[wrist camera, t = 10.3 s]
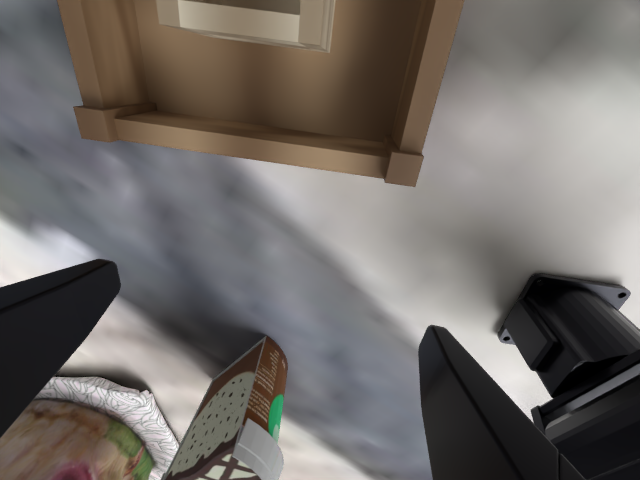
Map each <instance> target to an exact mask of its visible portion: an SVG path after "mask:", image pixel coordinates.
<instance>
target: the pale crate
mask: <svg viewBox="0 0 640 480" xmlns="http://www.w3.org/2000/svg"><path fill="white" fill-rule="evenodd" d="M156 2H157V11H158V19H159V24H160V25H164V26H168V27H172V28H176V29H180V30H184V31H189V32H193V33H197V34H201V35H205V36H209V37H213V38H219V39H227V40H234V41H242V42H250V43H257V44H265V45H272V46H280V47H288V48H295V49H303V50H311V51H318V52H326V53H330V47H331V38H332V29H333V20H334V11H335V2H336V0H156Z"/></svg>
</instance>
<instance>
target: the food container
mask: <svg viewBox="0 0 640 480" xmlns="http://www.w3.org/2000/svg"><path fill="white" fill-rule="evenodd" d="M287 370H288V363H287V359H286V356H285V354H284V353H283V351H282V350H281V348H280V347H279V346H278V345H277V344H276V343H275V342H274V341H273V340H272V339H271V338H269V337H268V336H267V335H266V336H265V337H264V338H263V339H262V340H260V341H259V342H258V343H257V344H255V345H254V346H253V347H252V348H250V349H249V350H248V351H247V352H246V353H244V354H243V355H242V356H241V357H239V358H238V359H237V360H236V361H235V362H233V363H232V364H231V365H230V366H228V367H227V368H226V369H225V370H224V371H222V372H221V373H220V374H219V375H217V376H216V377H215V378H214V379H213V380H212V382H211V384H210V386H209V388H208V390H207V392H206V394H205V396H204V398H203V400H202V402H201V404H200V406H199V408H198V410H197V412H196V414H195V416H194V418H193V420H192V422H191V424H190V426H189V428H188V430H187V432H186V434H185V436H184V438H183V440H182V442H181V444H180V446H179V448H178V450H177V452H176V454H175V456H174V458H173V460H172V462H171V464H170V466H169V468H168V470H167V472H166V473H163V475H162V477H161V480H279V477H280V474H281V472H282V469H283V464H284V460H283V454H282V452H281V449H280V447H279V446H278V436H279V429H280V422H281V414H282V407H283V400H284V392H285V385H286V378H287Z"/></svg>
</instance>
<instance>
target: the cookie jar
mask: <svg viewBox="0 0 640 480" xmlns="http://www.w3.org/2000/svg"><path fill="white" fill-rule="evenodd" d="M178 448H179V444H178V442H177V440H176V438H175V437H174V435H173V433H172V431H171V430H170V428H169V426H168V424H167V423H166V421H165V419H164V417H163V415H162V414H161V412H160V410H159V408H158V407H157V405H156V403H155V400H154V397H153V394H152V393H151V392H149V391H147V390H145V391H143V392H141V393H139V390H135V389H131V388H127V387H122V386H120V385H118V384H116V383H113V382H111V381H109V380H107V379H104V378H101V377H77V378H71V377H53V378H52V379H51V380H50V381H49V382H48V383H47V385H46V386H45V387H44V388H43V389H42V390H41V391H40V393H39V394H38V395H37V396H36V397H35V398H34V400H33V401H32V402H31V403H30V404H29V405H28V407H27V408H26V409H25V410H24V411H23V412H22V414H21V415H20V416H19V417H18V418H17V419H16V421H15V422H14V423H13V424H12V425H11V426H10V428H9V429H8V430H7V431H6V432H5V433H4V435H3V436H2V437H1V438H0V480H161V477H162V475H163V473H166V472H167V470H168V468H169V466H170V464H171V462H172V460H173V458H174V456H175V454H176V452H177V450H178Z"/></svg>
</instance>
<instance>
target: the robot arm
mask: <svg viewBox="0 0 640 480" xmlns="http://www.w3.org/2000/svg"><path fill="white" fill-rule="evenodd" d="M539 280H540V281H539ZM537 281H539V282H537ZM120 287H121V283H120V278H119V274H118V269H117V265H116V264H115V262H113V261H109V260H104V259H96V260H92V261H89V262H86V263H82V264H79V265H75V266H72V267H69V268H65V269H62V270H58V271H55V272H51V273H48V274H45V275H41V276H38V277H34V278H31V279H28V280H24V281H21V282H17V283H14V284H11V285H7V286H4V287H0V438H1V437H2V436H3V435H4V433H5V432H6V431H7V430H8V429H9V428H10V426H11V425H12V424H13V423H14V422H15V421H16V419H17V418H18V417H19V416H20V415H21V414H22V412H23V411H24V410H25V409H26V408H27V407H28V405H29V404H30V403H31V402H32V401H33V400H34V398H35V397H36V396H37V395H38V394H39V393H40V391H41V390H42V389H43V388H44V387H45V386H46V385H47V383H48V382H49V381H50V380H51V379H52V378H53V376H54V375H55V374H56V373H57V372H58V371H59V369H60V368H61V367H62V366H63V365H64V364H65V362H66V361H67V360H68V359H69V358H70V357H71V355H72V354H73V353H74V352H75V351H76V350H77V348H78V347H79V346H80V345H81V344H82V342H83V341H84V340H85V339H86V337H87V336H88V335H89V333H90V332H91V331H92V329H93V328H94V327H95V325H96V324H97V322H98V321H99V320H100V318H101V317H102V315H103V314H104V312H105V311H106V310H107V308H108V307H109V305H110V304H111V303H112V301H113V300H114V298H115V297H116V295H117V294H118V292H119V290H120ZM619 293H620V294H619ZM630 294H631V293H630V291H629V290H628V289H627V288H625V287H624V286H619V285H613V284H606V283H600V282H593V281H586V280H580V279H573V278H567V277H560V276H554V275H547V274H535V275H533V276H532V277H531V278H530V279H529V281H528V283H527V284H526V286H525V288H524V290H523V291H522V293H521V295H520V297H519V298H518V300H517V302H516V303H515V305H514V307H513V309H512V310H511V312H510V314H509V315H508V317H507V319H506V321H505V322H504V324H503V326H502V328H501V330H500V331H499V333H498V338H499V340H500V341H501V342H502V343H506V344H513V345H516V346H517V348H518V350H519V351H520V353H521V355H522V356H523V358H524V360H525V361H526V363H527V365H528V366H529V368H530V369H531V370H532V371H536V372H537V374H538V376H539V377H540V379H541V381H542V382H543V384H544V386H545V387H546V389H547V391H548V392H549V394H550V396H551V397H552V398H553V399H552V400H550V401H548V402H546V403H545V404H543V405H541V406H536V407H534V408H533V409H531V414H532V417H533V421H534V423H533V422H532V421H531V420H530V419H529V418H528V417H527V416H526V415H525V414H524V413H523V411H522V410H521V409H520V408H519V407H518V406H517V405H516V404H515V403H514V402H513V401H512V399H511V398H510V397H509V396H508V395H507V394H506V393H505V392H504V391H503V390H502V389H501V388H500V386H499V385H498V384H497V383H496V382H495V381H494V380H493V379H492V378H491V377H490V376H489V375H488V373H487V372H486V371H485V370H484V369H483V368H482V367H481V366H480V365H479V364H478V363H477V362H476V360H475V359H474V358H473V357H472V356H471V355H470V354H469V353H468V352H467V351H466V350H465V349H464V347H463V346H462V345H461V344H460V343H459V342H458V341H457V340H456V339H455V338H454V337H453V336H452V334H451V333H450V332H449V331H448V330H447V329H446V328H444V327H440V326H435V325H430V326H428V328H427V330H426V332H425V334H424V336H423V339H422V341H421V343H420V345H419V351H418V355H419V374H420V394H421V408H422V415H423V422H424V428H425V434H426V440H427V446H428V453H429V459H430V465H431V471H432V477H433V480H640V329H639V328H637V327H636V326H635V325H634V324H633V323H632V322H631V321H630V320H629V319H627V318H626V317H625V316H624V315H623V314H622V313H621V312H620V311H619V309H620V307H621V306H622V305H623V304H624V302H625V301H626V300H627V299H628V298H629V296H630Z"/></svg>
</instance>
